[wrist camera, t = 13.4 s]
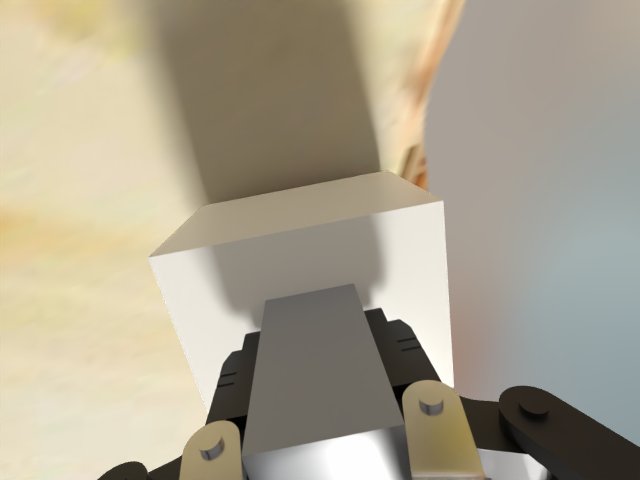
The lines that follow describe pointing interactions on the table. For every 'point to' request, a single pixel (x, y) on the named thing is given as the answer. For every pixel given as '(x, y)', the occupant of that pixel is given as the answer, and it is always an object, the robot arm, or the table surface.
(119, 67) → the table surface
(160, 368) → the table surface
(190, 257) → the white block
